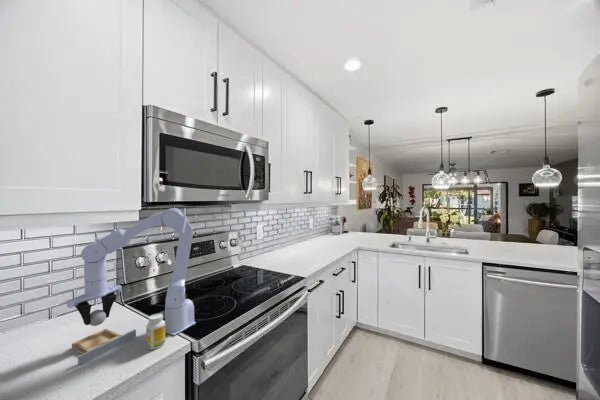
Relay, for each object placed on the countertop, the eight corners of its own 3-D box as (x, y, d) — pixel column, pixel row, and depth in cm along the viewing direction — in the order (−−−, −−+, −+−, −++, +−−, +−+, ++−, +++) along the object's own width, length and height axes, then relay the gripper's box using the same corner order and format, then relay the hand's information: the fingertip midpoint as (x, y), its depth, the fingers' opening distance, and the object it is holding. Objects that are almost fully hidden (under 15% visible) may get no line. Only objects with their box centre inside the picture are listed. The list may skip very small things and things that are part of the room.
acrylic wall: (134, 336, 88) (134, 329, 87) (136, 336, 87) (135, 329, 87) (78, 364, 73) (77, 356, 73) (79, 365, 73) (79, 356, 73)
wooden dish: (105, 333, 90) (105, 328, 90) (121, 339, 85) (121, 335, 85) (71, 348, 81) (71, 343, 81) (87, 356, 77) (87, 351, 77)
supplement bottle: (143, 350, 80) (142, 320, 79) (151, 340, 85) (150, 312, 85) (161, 349, 80) (160, 319, 80) (168, 339, 86) (167, 311, 85)
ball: (100, 320, 86) (100, 306, 86) (109, 323, 84) (109, 308, 84) (84, 326, 82) (84, 311, 82) (92, 330, 80) (92, 314, 80)
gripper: (113, 271, 91) (113, 308, 91) (61, 284, 78) (62, 328, 78) (124, 274, 88) (125, 312, 88) (73, 288, 75) (74, 333, 75)
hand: (96, 320), depth 83 cm, fingers closed on ball, 5 cm apart
